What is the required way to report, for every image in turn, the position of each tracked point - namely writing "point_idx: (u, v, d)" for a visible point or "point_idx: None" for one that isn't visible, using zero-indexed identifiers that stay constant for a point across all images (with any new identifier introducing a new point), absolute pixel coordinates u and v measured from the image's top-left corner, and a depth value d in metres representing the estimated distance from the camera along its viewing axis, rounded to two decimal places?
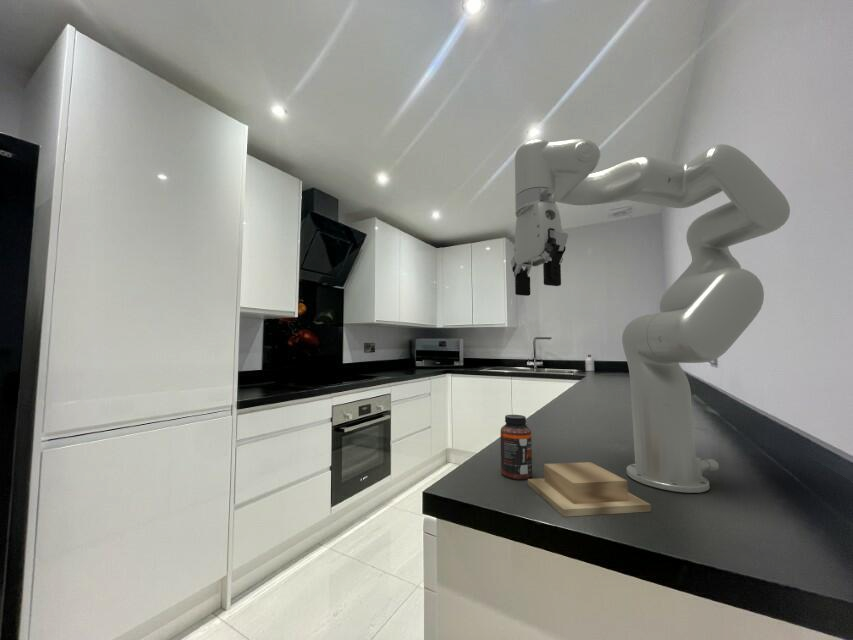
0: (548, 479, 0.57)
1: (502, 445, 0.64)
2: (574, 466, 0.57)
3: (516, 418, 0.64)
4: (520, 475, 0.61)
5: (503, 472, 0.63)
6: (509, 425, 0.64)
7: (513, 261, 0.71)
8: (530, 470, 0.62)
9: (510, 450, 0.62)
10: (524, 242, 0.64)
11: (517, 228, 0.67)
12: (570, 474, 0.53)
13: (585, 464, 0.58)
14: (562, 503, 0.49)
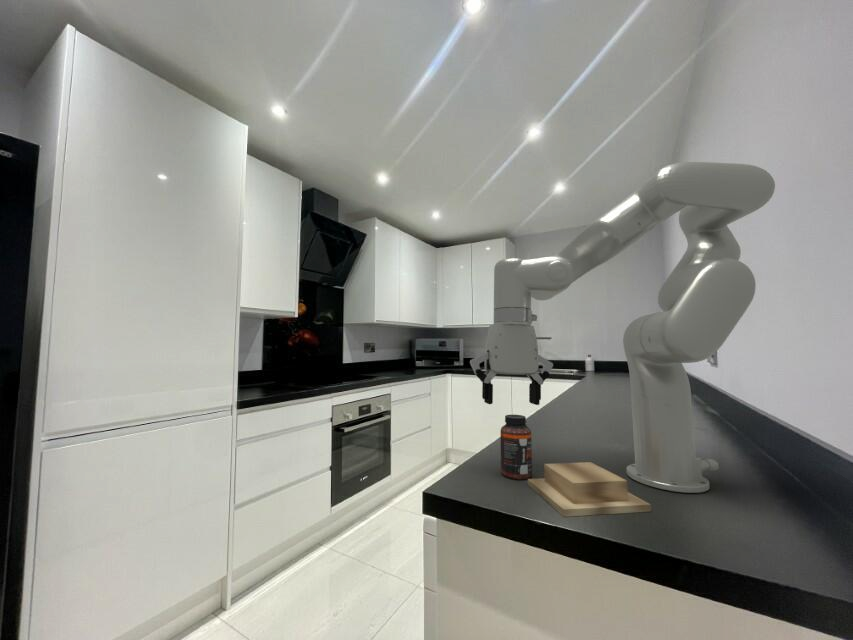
0: (548, 479, 0.57)
1: (502, 445, 0.64)
2: (574, 466, 0.57)
3: (516, 418, 0.64)
4: (520, 475, 0.61)
5: (503, 472, 0.63)
6: (509, 425, 0.64)
7: (476, 363, 0.65)
8: (530, 470, 0.62)
9: (510, 450, 0.62)
10: (516, 356, 0.64)
11: (502, 336, 0.65)
12: (570, 474, 0.53)
13: (585, 464, 0.58)
14: (562, 503, 0.49)
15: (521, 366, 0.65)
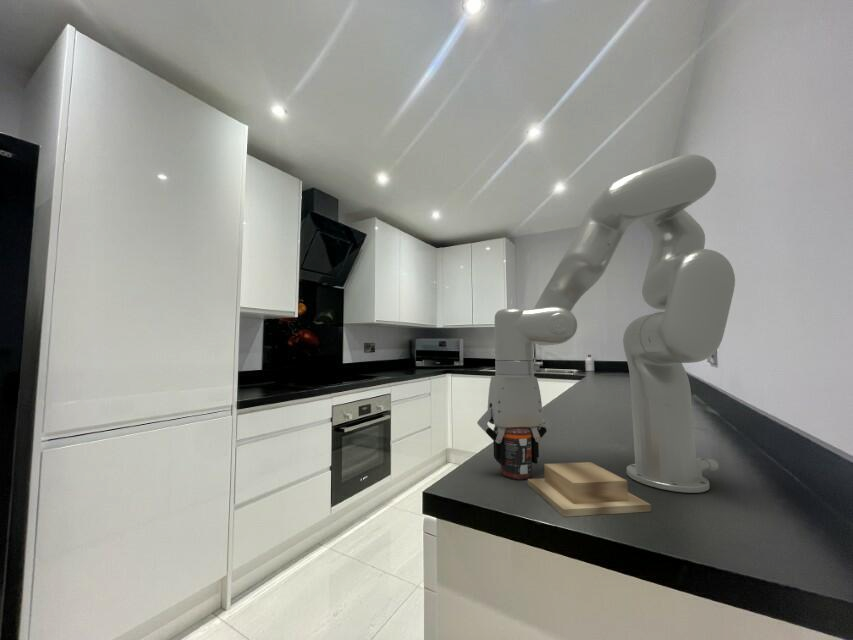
0: (548, 479, 0.57)
1: None
2: (574, 466, 0.57)
3: None
4: (520, 475, 0.61)
5: (503, 472, 0.63)
6: None
7: (484, 423, 0.64)
8: (530, 470, 0.62)
9: (510, 450, 0.62)
10: (519, 410, 0.63)
11: (505, 390, 0.63)
12: (570, 474, 0.53)
13: (585, 464, 0.58)
14: (562, 503, 0.49)
15: (525, 420, 0.63)
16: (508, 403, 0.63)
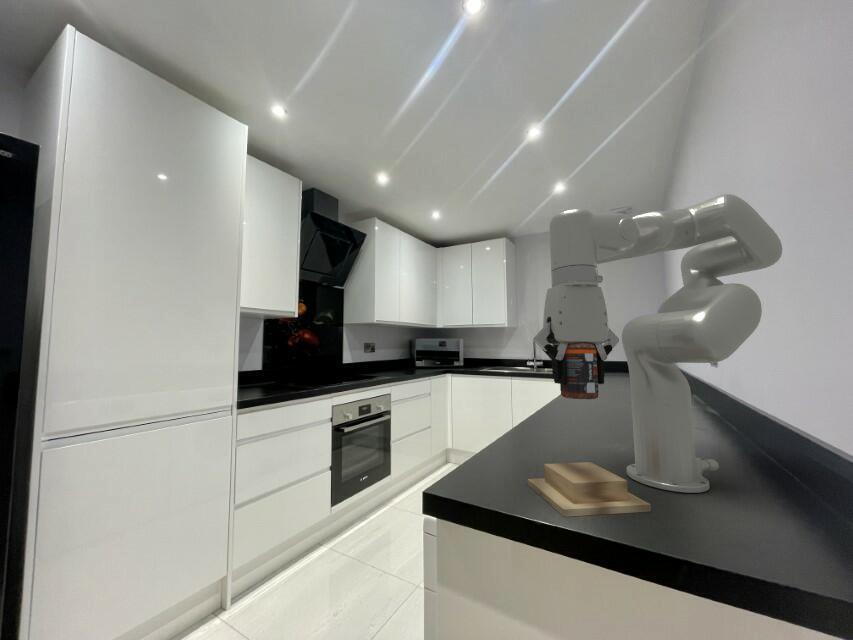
0: (548, 479, 0.57)
1: None
2: (574, 466, 0.57)
3: None
4: (587, 394, 0.53)
5: (565, 393, 0.55)
6: None
7: (543, 338, 0.56)
8: (597, 389, 0.54)
9: (573, 367, 0.54)
10: (583, 322, 0.55)
11: (567, 299, 0.55)
12: (570, 474, 0.53)
13: (585, 464, 0.58)
14: (562, 503, 0.49)
15: (590, 333, 0.55)
16: (571, 314, 0.55)
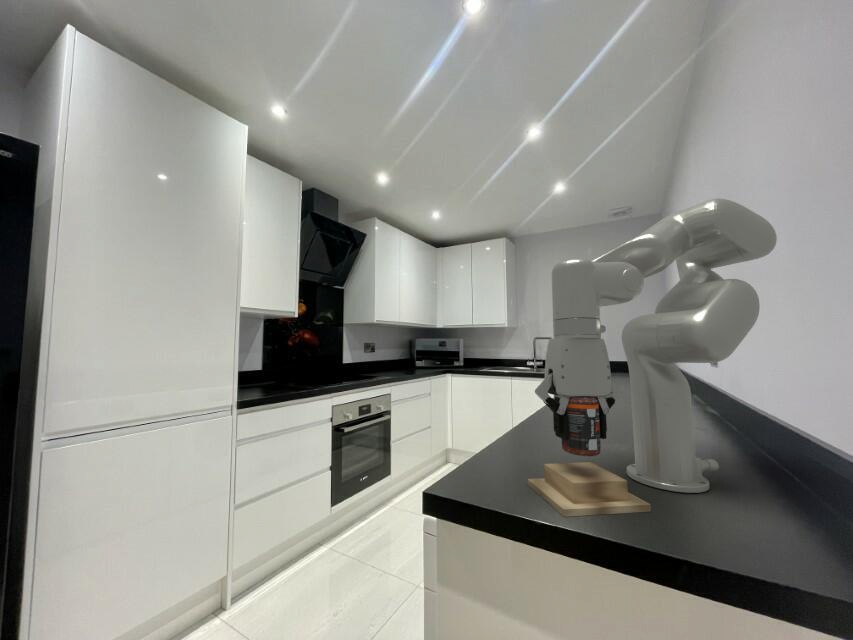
0: (548, 479, 0.57)
1: None
2: (574, 466, 0.57)
3: None
4: (589, 451, 0.52)
5: (566, 448, 0.54)
6: None
7: (544, 391, 0.55)
8: (599, 446, 0.53)
9: (575, 422, 0.53)
10: (585, 376, 0.54)
11: (569, 352, 0.54)
12: (570, 474, 0.53)
13: (585, 464, 0.58)
14: (562, 503, 0.49)
15: (592, 387, 0.54)
16: (573, 368, 0.54)
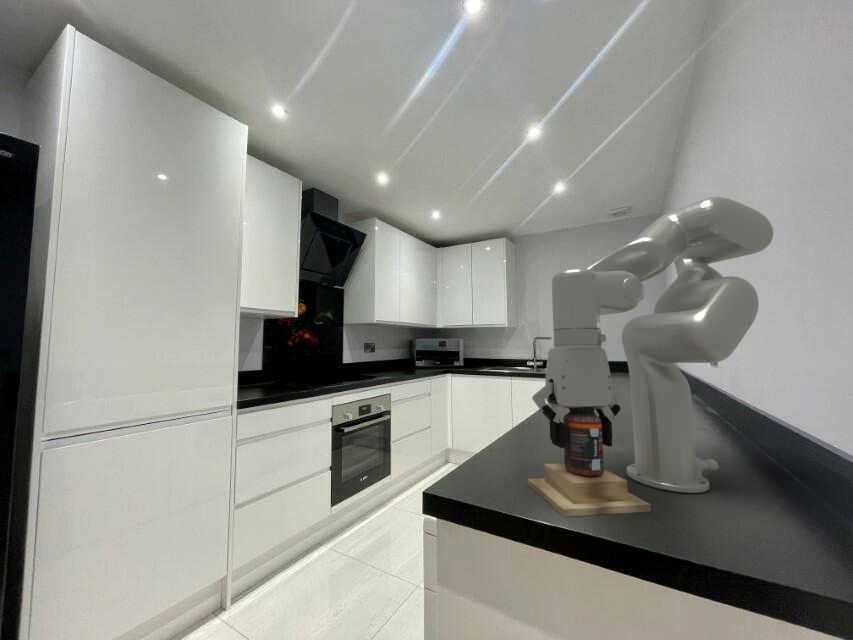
0: (548, 479, 0.57)
1: (566, 436, 0.55)
2: None
3: None
4: (592, 471, 0.52)
5: (569, 468, 0.54)
6: (576, 413, 0.55)
7: (542, 399, 0.55)
8: (602, 465, 0.53)
9: (578, 442, 0.53)
10: (586, 387, 0.54)
11: (570, 363, 0.54)
12: (570, 474, 0.53)
13: None
14: (562, 503, 0.49)
15: (593, 398, 0.54)
16: (574, 378, 0.54)
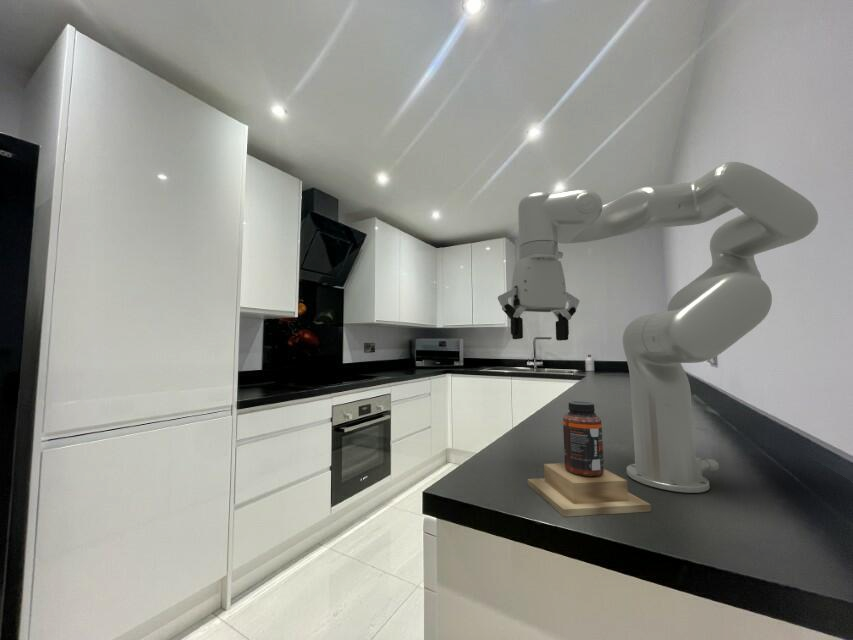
0: (548, 479, 0.57)
1: (566, 437, 0.55)
2: None
3: (584, 405, 0.54)
4: (592, 471, 0.52)
5: (569, 468, 0.54)
6: (576, 413, 0.55)
7: (505, 298, 0.64)
8: (602, 465, 0.53)
9: (578, 442, 0.53)
10: (545, 290, 0.63)
11: (531, 270, 0.63)
12: (570, 474, 0.53)
13: None
14: (562, 503, 0.49)
15: (550, 300, 0.64)
16: (534, 283, 0.63)
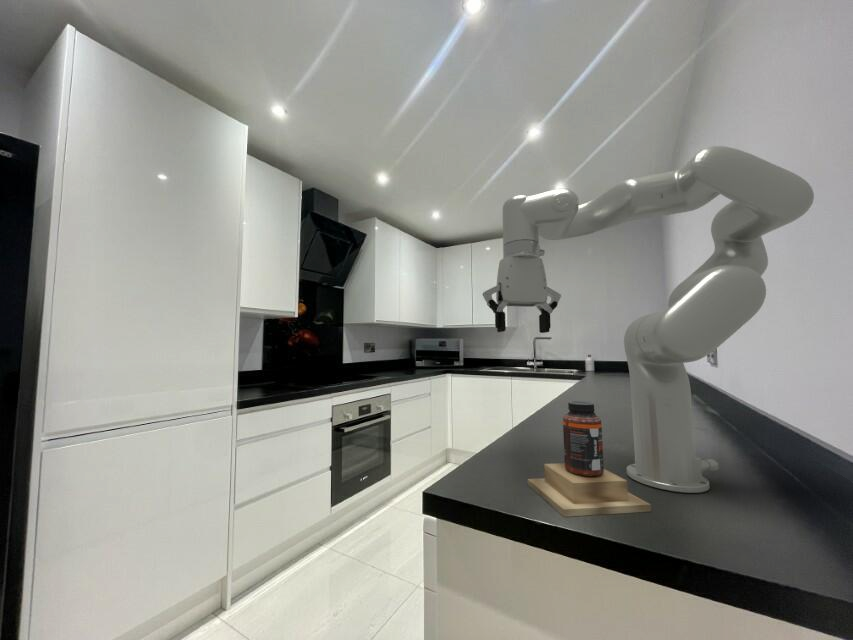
0: (548, 479, 0.57)
1: (566, 437, 0.55)
2: None
3: (584, 405, 0.54)
4: (592, 471, 0.52)
5: (569, 468, 0.54)
6: (576, 413, 0.55)
7: (489, 294, 0.69)
8: (602, 465, 0.53)
9: (578, 442, 0.53)
10: (526, 286, 0.68)
11: (513, 268, 0.69)
12: (570, 474, 0.53)
13: None
14: (562, 503, 0.49)
15: (531, 295, 0.68)
16: (516, 279, 0.68)
